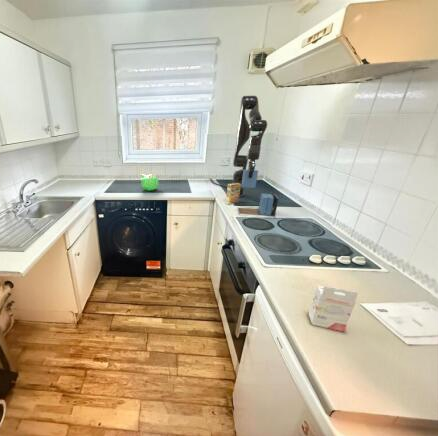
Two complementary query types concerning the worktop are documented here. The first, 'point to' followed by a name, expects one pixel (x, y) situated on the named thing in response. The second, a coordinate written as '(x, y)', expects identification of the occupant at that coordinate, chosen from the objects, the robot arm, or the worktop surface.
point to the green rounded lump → (149, 182)
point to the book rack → (255, 211)
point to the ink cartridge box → (332, 307)
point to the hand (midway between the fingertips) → (249, 177)
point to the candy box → (233, 193)
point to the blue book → (249, 179)
